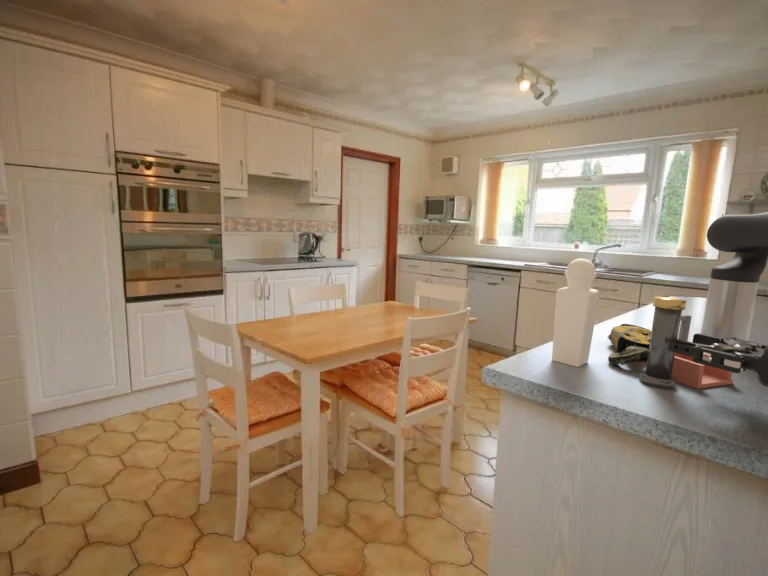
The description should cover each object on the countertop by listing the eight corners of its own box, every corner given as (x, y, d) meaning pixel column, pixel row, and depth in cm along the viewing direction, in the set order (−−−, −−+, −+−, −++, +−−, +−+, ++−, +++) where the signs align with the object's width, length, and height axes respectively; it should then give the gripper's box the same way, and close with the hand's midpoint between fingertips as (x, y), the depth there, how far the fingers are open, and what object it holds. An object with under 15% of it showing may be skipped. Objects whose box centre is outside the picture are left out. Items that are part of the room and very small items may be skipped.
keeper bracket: (677, 363, 87) (685, 314, 85) (736, 383, 76) (746, 327, 75) (640, 368, 83) (648, 316, 81) (697, 388, 73) (707, 330, 71)
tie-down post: (652, 376, 78) (665, 296, 76) (682, 387, 73) (696, 301, 71) (632, 379, 76) (644, 296, 74) (661, 390, 71) (674, 302, 69)
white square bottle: (591, 362, 85) (604, 259, 82) (580, 369, 81) (593, 260, 77) (560, 354, 90) (571, 256, 86) (548, 360, 85) (559, 257, 82)
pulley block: (588, 333, 84) (623, 314, 106) (581, 358, 86) (616, 334, 108) (666, 359, 75) (686, 333, 97) (656, 387, 77) (678, 355, 99)
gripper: (831, 341, 60) (704, 317, 74) (799, 353, 53) (664, 324, 67) (821, 388, 61) (697, 356, 75) (787, 406, 54) (657, 367, 68)
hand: (682, 341), depth 71 cm, fingers open, 8 cm apart
